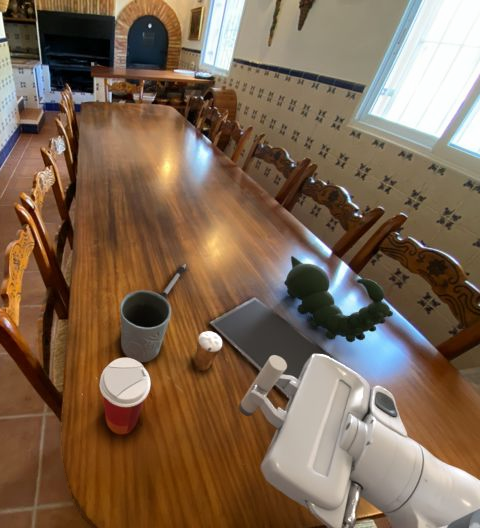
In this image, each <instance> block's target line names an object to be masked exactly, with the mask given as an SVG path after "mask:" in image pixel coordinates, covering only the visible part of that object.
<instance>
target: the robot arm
mask: <svg viewBox="0 0 480 528" xmlns="http://www.w3.org/2000/svg"><path fill="white" fill-rule="evenodd" d="M336 360H337V359H336ZM336 360H334V359H332V358H330V357H328V356H326V355H323V354H312V356H311V357H310V358H309V359H308V360H307V362H306V363H305V365H304V367H303V369H302V371H301V374H300V376H299V378H298V379H296V378H295V377H293V376H289V375H283V374H282V375H281V376H280V378H279V379H278V381H277V382H276V383H275V385H278V386H282V387H285V388H284V391H285V392H287V393H288V394H290V395H291V397H290V399H289V400H288V402H287V404H286V406H285V408H284V409H282V408H281V407H277V408H276V407H275V406H274V405H273V403H272V402H271V401H270V399H269V398H268V397H267V396H268V394H269V393H268V392H267V391H265V390H264V389H261V388H260V387H259V386H258V385H255V386H254V387H253V389H252V390H251V392H250V394H249V395H248V398H249V399H250V400H251V401H253V402H254V403H256V404H257V405H258V407H259V409H260V411H261V412H262V414H263V415H264V418H265V419H266V420H267V422H268V423H269V424H270V425H272V426H274V427H275V428H276V429H275V432H274V434H273V436H272V439H271V441H270V443H269V446H268V448H267V449H266V453H265V455H264V457H263V460H262V462H261V464H260V470H261V473H262V475H263V477H264V479H265V481H266V482H267V483H269V484H270V485H271V486H272V487H274V489H276V490H278V491H279V492H281V493H283V495H285V496H286V497H288V498H289V499H291V500H293V501H294V502H296V503H297V504H299V505H301V506H303V507H304V508H306V509H307V510H309V512H310V513H311V514H312V516H314V518H316V520H318V521H320V523H322V524H323V525H325V526H326V527H327V528H355V526H356V523H357V516H358V515H357V512H358V507H359V504H360V502H361V498H362V499H363V500H365V501H366V502H367V503H368V504H370V505H371V506H373V507H374V508H375V509H377V510H378V511H380V512H381V513H382V514H384V516H386V517H387V518H388V520H389V521H390V527H389V528H480V479H478V478H477V477H475V476H474V475H472V474H470V473H468V472H467V471H465V470H463V469H461V468H458V467H456V466H453V465H450V464H448V463H446V462H444V461H442V460H441V459H439V458H437V457H436V456H434V455H433V454H432V453H431V452H430V451H429V450H428V449H427V448H425V447H424V446H423V445H421V443H419V442H417V441H416V440H414V439H412V438H410V437H409V436H408V432H407V429H406V428H405V425H404V423H403V421H402V418H401V415H400V412H399V409H398V408H397V403H396V399H395V396H394V395H393V394H392V393H391V392H390V390H388V389H386V388H384V387H383V386H380V385H375V386H373V387H372V388H371V386H370V384H369V382H368V381H367V380H366V379H365V378H364V377H363V376H362V375H361V374H359V373H358V372H356V371H354V370H353V369H351V368H350V367H348V366H347V365H344V364H343V363H342V362H340V361H339V362H340V363H339V362H337V361H336ZM267 393H268V394H267Z"/></svg>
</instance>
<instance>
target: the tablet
mask: <svg viewBox="0 0 480 528" xmlns="http://www.w3.org/2000/svg"><path fill="white" fill-rule="evenodd" d="M208 326H209V327H211V329H213V330H214V331H215V333H216V334H217V335H218V336H219V337H220V338H221V339H223V340H224V341H225V342H227V344H229V346H231V347H232V348H233V350H235V351H236V353H238V354H239V355H240V357H242V358H243V359H244V360H245V361H246V362H247V363H248V364H249V365H250V366H251V367H253V368H254V370H256V371H257V373H258V374H259V373H260V371H261V370H262V368H263V367H264V365H265V364H266V362H267V361H268V359H269V358H270V356H273V355H276V356H279V357H281V358H283V359H284V360H285V362H286V364H287V368H286V370H285V371H284V372H283V375H289V376H293V377H295V378H296V379H298V378H299V376H300V374H301V371H302V369H303V367H304V365H305V363H306V362H307V360H308V359H309V358H310V357H311V356H312V354H323V355H326V356H328V357H330V358H332V359H334V360H336V361H337V362H339V363H341V362H340V361H339V360H337V359H336V358H335V357H334V356H333V355H331V354H330V353H329V352H327V351H326V350H325V349H323V348H322V347H321V346H319V345H318V344H317V343H316V342H314V341H313V340H312V339H311V338H310V337H308V336H306V335H305V334H304V333H303V332H301V331H300V330H299V329H297V328H296V327H295V326H294V325H292V324H291V323H290V322H289V321H287V320H286V319H284V318H283V317H282V316H280V315H279V314H278V313H276V311H274V310H273V309H271V308H270V307H268V305H266V304H265V303H264V302H262V301H261V300H260V299H258V297H256V296H254V297H252V298H250V299H249V300H247V301H245V302H243V303H242V304H240V305H238V306H236V307H234V308H233V309H230V310H229V311H228V312H226V313H224V314H222V315H221V316H219V317H217V318H216V319H214V320H212V321H210V322H209V324H208ZM273 388H275V390H277V391H278V393H280V395H282V396H283V397H284V398H285V399H286V400H287V401H289V399H290V397H291V395H290V394H288V393H287V392H285V391H284V388H285V387H282V386H278V385H274V386H273Z"/></svg>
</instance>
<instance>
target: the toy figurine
mask: <svg viewBox="0 0 480 528" xmlns="http://www.w3.org/2000/svg"><path fill="white" fill-rule="evenodd" d="M290 262H291V270H289V272H288V273H287V276H286V278H285V280H284V282H283V284H284V285H285V286H286V289H287V290H286V293H287V295H288V296H289V297H290V298H294V299H295V298H296V299H298V300H299V301H301V304H299V305H298V306H297V308H296V309H297V312H298V313H299V314H300V315H307V314H310V315H311V317H312V320H310V321H309V324H308V325H309V327H310V328H312V329H315V330H316V329H318V328H319V327H320V328H321V329H326V331H325V333H324V336H325V338H326V339H327V340H329V341H332V340H335V339H336V337H337V336H340V337H342V338H345V340H346V342H348V343H353V342H355V341H356V340H358V341H364V339H366V335H365V333H366V332H368V331H369V332H372V333H373V332H375V331H377V326H376V325H379V324H380V325H382V324H385V323H386V318H390V317H392V316H394V312H393V311H392V310H391V308H390V306H389V305H388V304H387V303H386V302H384V301H383V300H384V299H385V291H384V289H383V288H382V286H381V285H380V284H379V283H378V282H376V281H374V280H372V279H369V278H358V279H357V280H356V283H357V284H360V285H363V287H364V288H365V290H366V292H367V296H368V298H369V299H370V300H371V302H370V303H369V304H368V305H365V306H363V307H361V308H360V309H359V310H358V311H355V312H352V313H351V314H350V315H345V314H344V313H343V312H342V310H341V309H340V307H339V306H337V305H336V304H335V298H334V296H333V295H332V294H331V293H330V292H329V289H330V285H331V284H330V277H329V275H328V274H327V272H326V271H325V269H323V268H321V267H320V266H319V265H316V264H313V263H303V262H302V261H300V260H299V259H298V258H297V257H295V256H293V255H291V256H290Z"/></svg>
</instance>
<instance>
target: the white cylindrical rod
mask: <svg viewBox="0 0 480 528" xmlns="http://www.w3.org/2000/svg"><path fill="white" fill-rule="evenodd" d="M286 368H287V364H286V362H285V360H284V359H283V358H281V357H279V356H276V355H273V356H270V358H269V359H268V361H267V362H266V364H265V365H264V367H263V368H262V370H261V371H260V373H259V372H258V374H257V375H256V378H255V379H254V381H253V382H252V384H251V385H250V387H249V388H248V390H247V392H246V393H245V395H244V396H243V398H242V399H241V400H240V402H239V404H238V409H239V412H240V413H241V414H242V415H243V416H245V417H251V416H253V415H254V413H255V412H256V410H257V409H258V408H259V406H258V405H257V404H256V403H254V402H253V401H251V400H250V399H249V398H248V395H249V394H250V392H251V390H252V389H253V387H254V386H255V385H258V386H259V387H260V388H261V389H264V390H265V391H267V392H268V393H267V395H268V394H269V393H270V392H271V391H272V389H273V388H274V385H275V383H276V382H277V381H278V379H279V378H280V376H281V375H282V374H283V372H284V371H285V370H286Z"/></svg>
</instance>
